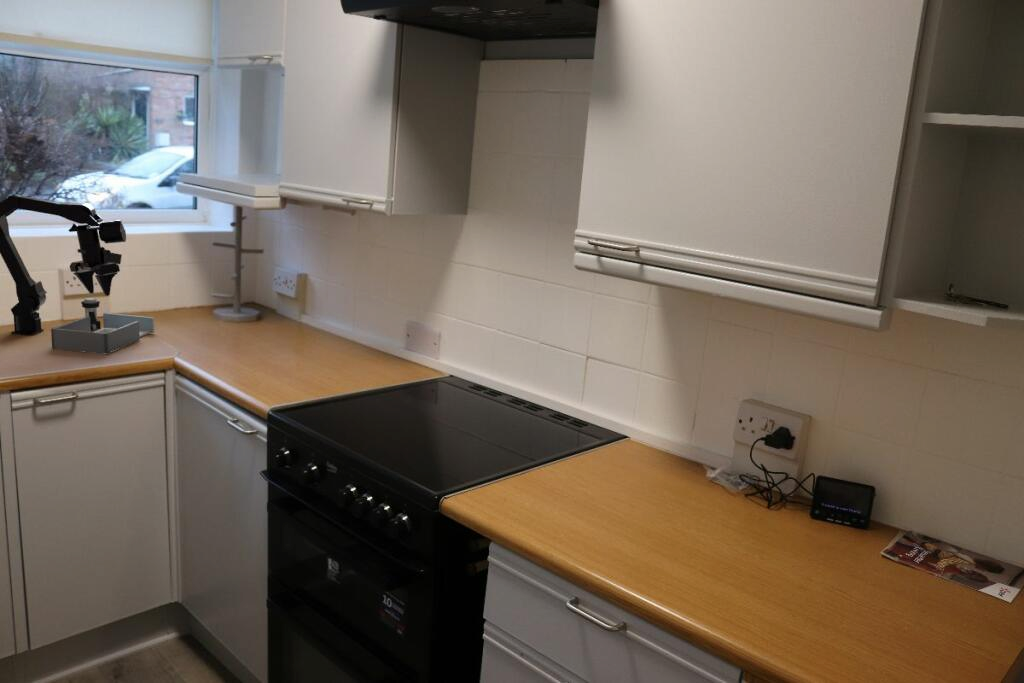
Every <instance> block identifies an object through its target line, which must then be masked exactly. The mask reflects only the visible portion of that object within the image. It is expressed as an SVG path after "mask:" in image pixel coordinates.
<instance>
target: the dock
mask: <svg viewBox="0 0 1024 683" xmlns="http://www.w3.org/2000/svg"><path fill="white" fill-rule="evenodd" d="M50 334H51V335H50V336H51V349H52V348H53V349H52V350H59V349H63V350H62V351H69V350H73V351H72V352H80V351H85V352H84V353H90V352H96V353H95V354H100V353H109V352H111V351H113V350H116V349H118V348H120V349H122V348H121V347H123V346H125V347H126V345H127V346H129V345H131V343H132V344H134V343H136V342H138V340H139V341H140V338H141V337H140V332H139V321H135V322H133V323H130V324H128V325H125V326H123V327H120V328H118V329H115V330H112V331H110V332H107V333H97V332H94V331H92V330H91V326H90V316H87V317H85V316H84V317H81V318H78V319H76V320H73V321H70V322H67V323H65V324H64V323H63V324H61V325H58V326H55V327H53V328H50ZM133 342H134V343H133ZM123 348H124V347H123ZM118 350H119V349H118ZM116 351H117V350H116ZM113 352H114V351H113ZM111 353H112V352H111ZM109 354H110V353H109Z"/></svg>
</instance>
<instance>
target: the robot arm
mask: <svg viewBox="0 0 1024 683" xmlns="http://www.w3.org/2000/svg"><path fill="white" fill-rule="evenodd" d="M18 209H19V210H24V211H29V212H36V213H42V214H47V215H51V216H52V215H53V216H58V217H61V218H64V219H66V220H68V221H71V222H74V223H72V225H71V227H70V228H69V229H68V232H70V233H72V232H76V235H77V240H78V245H79V248H78V249H77V253H80V256H81V260H79V261H72V262H71V263H70V264H69V270H70V272H72V273H73V275H75V276H76V278H77V279H78V280H79V282H80V283H81V284H82V285H83V286H84V288H85V289H86V290H87V292H88V293H89V294H95V291H94V288H95V286H94V277H95V279H96V280H97V282H98V284H99V286H100V289H101V290H102V292H103V293H104V296H106V297H107V296H110V294H111V288H112V281H113V279H114V277H116V275H118V273H119V272H121V270H120V265H121V264H122V263H121V262H122V254H121V253H120V254H119V253H115V252H111V250H109V249H106V248H105V247H104V246H101V242H103V243H104V244H117V243H126V241H127V232H126V229H125V226H124V224H123V223H122V220H121V219H116V220H112V221H105V220H104V219H103V218H102V216H100V215H99V214H98V213H97V212H96V209H95V207H94V206H93V205H92V204H90V203H87V202H59V201H52V200H48V199H41V198H36V197H30V196H25V195H21V194H18V193H17V194H11V195H8V196H7V198H5V199H4V200H1V201H0V256H1V258H2V260H3V262H4V264H5V266H6V268H7V270H8V271H9V274H10V275H11V277H12V279H13V281H14V284H15V292H16V297H17V300H18V302H17V303H16V304H15V305H13V307H12V308H10V311H11V314H12V316H13V326H14V327H13V328H14V330H13V331H11V332H10V333H11V334H15V335H26V336H33V335H35V334H38V333H41V331H42V332H44V329H43V328H42V318H41V317H40V312H37V311H39V310H40V308H41V307H42V306H43V305H44V304H45V302H46V300H47V296H46V294H47V293H48V292H47V291H46V289H45V288H44V285H43V284H42V281H41V280H39V281H37V282H36V281H35V280H34V279H33V278H32V277H31V275H30V273H29V270H28V269H27V267H26V265H25V263H24V261H23V258H22V257H21V255H20V253H19V251H18V249H17V248H16V245H15V243H14V241H13V240H12V238H11V235H10V230H9V222H8V219H7V217H9V216H10V215H12V214H14V212H16V211H17V210H18ZM100 241H101V242H100ZM94 274H95V275H94ZM93 276H94V277H93Z"/></svg>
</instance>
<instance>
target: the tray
mask: <svg viewBox="0 0 1024 683" xmlns="http://www.w3.org/2000/svg"><path fill="white" fill-rule="evenodd" d="M102 320H103V321H102V322H103V323H102V324H103V327H102V328H101V329H96V330H93V332H97V333H107V332H110V331H112V330H115V329H118V328H120V327H123V326H125V325H128V324H130V323H133V322H135V321H139V332H140V338H141V337H144V336H145V335H148V334H154V333H155V327H154V326H155V318H154V317H153V316H152V317H150V316H142V315H132V314H131V315H130V314H123V313H122V314H120V313H113V312H112V313H109V312H103V313H102Z"/></svg>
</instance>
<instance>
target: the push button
mask: <svg viewBox="0 0 1024 683" xmlns="http://www.w3.org/2000/svg"><path fill="white" fill-rule="evenodd" d="M100 303H101V301H99V300H98V299H97V298H95V297H86V298H84V299H83V300H82V301H81V302H80V304H81V307H82V308H83V309H84V314H85V315H84V317H87V316H90V326H91V331H97V330H100V329H102V328H101V326H102V325H101V320H99V319H98V311H97V310H98V309H97V308H99V307H100Z"/></svg>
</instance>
